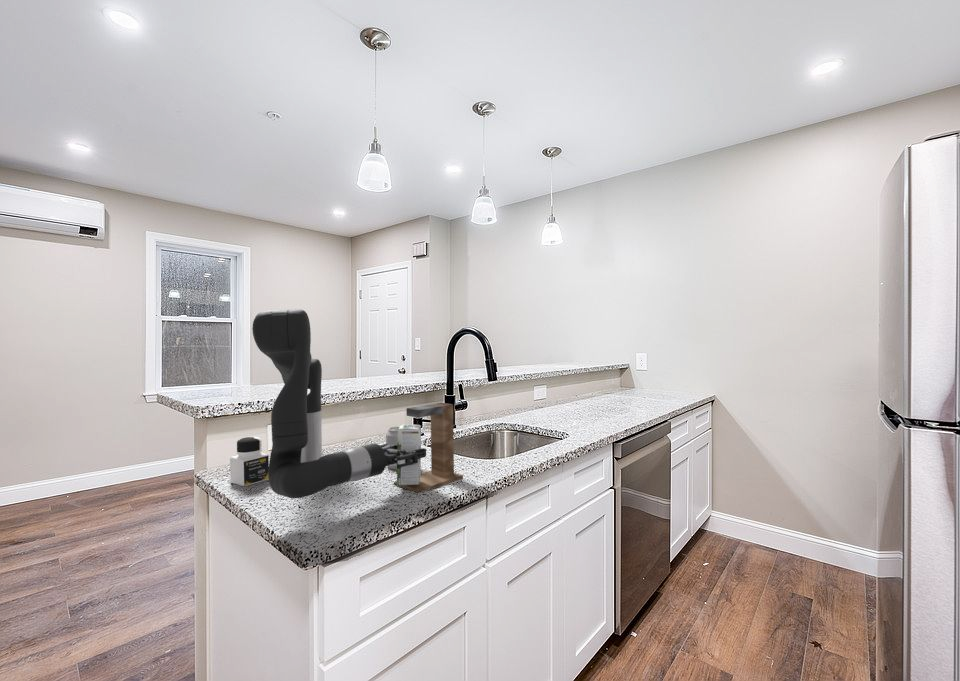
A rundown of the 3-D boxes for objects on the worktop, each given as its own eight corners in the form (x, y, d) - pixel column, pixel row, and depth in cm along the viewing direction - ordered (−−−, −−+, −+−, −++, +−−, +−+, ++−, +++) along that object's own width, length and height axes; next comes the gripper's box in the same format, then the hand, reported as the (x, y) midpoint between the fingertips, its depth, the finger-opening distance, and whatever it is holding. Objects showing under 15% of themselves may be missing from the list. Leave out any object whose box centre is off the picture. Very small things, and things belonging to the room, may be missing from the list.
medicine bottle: (244, 487, 115) (243, 442, 115) (229, 482, 119) (229, 439, 119) (269, 479, 122) (268, 436, 121) (254, 475, 125) (254, 434, 125)
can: (405, 471, 127) (405, 430, 127) (382, 470, 129) (381, 430, 129) (414, 464, 135) (414, 425, 135) (392, 462, 136) (391, 425, 136)
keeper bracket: (418, 493, 109) (417, 412, 109) (394, 484, 116) (393, 408, 116) (462, 477, 121) (461, 404, 121) (438, 470, 127) (437, 401, 127)
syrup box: (399, 478, 116) (398, 424, 116) (421, 477, 116) (421, 424, 116) (396, 485, 110) (396, 428, 110) (420, 485, 111) (419, 428, 111)
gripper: (378, 452, 98) (432, 439, 110) (345, 442, 108) (398, 431, 119) (378, 485, 98) (433, 469, 110) (345, 472, 108) (399, 458, 119)
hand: (415, 449), depth 115 cm, fingers closed on syrup box, 8 cm apart
